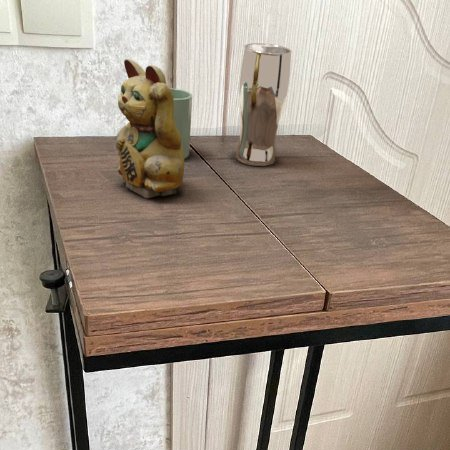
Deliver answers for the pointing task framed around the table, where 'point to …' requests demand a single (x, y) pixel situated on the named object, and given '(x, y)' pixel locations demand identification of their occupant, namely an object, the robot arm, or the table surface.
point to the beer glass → (261, 101)
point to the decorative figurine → (149, 134)
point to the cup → (183, 116)
